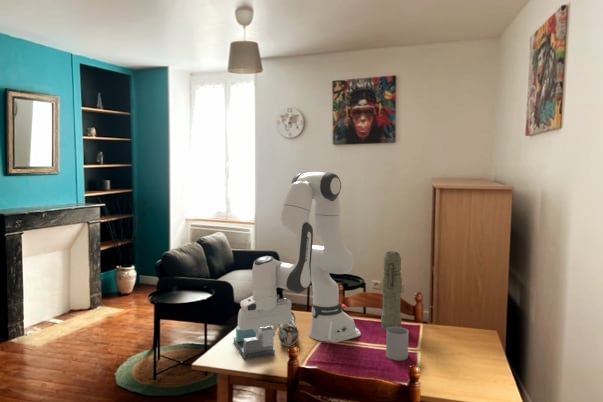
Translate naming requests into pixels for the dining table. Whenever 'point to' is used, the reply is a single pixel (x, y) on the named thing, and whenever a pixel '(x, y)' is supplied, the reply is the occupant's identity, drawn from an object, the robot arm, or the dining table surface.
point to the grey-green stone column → (391, 291)
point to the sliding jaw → (244, 334)
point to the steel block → (266, 336)
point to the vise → (253, 348)
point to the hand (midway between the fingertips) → (265, 337)
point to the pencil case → (288, 332)
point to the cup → (397, 343)
